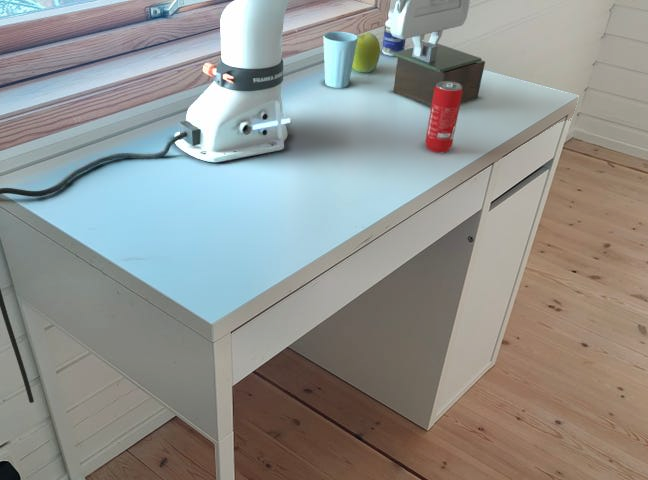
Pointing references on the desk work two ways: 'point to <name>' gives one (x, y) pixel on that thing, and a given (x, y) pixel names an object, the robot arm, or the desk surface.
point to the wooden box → (435, 80)
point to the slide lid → (438, 57)
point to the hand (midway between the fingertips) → (424, 54)
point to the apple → (366, 53)
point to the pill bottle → (391, 39)
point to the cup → (339, 57)
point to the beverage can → (443, 116)
